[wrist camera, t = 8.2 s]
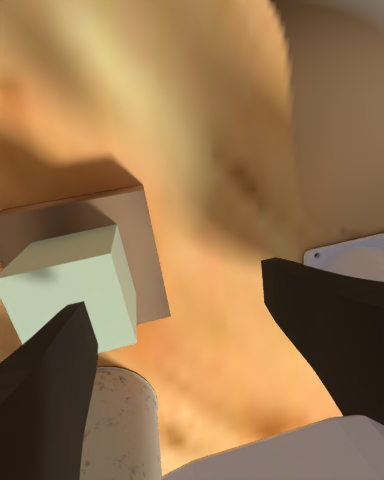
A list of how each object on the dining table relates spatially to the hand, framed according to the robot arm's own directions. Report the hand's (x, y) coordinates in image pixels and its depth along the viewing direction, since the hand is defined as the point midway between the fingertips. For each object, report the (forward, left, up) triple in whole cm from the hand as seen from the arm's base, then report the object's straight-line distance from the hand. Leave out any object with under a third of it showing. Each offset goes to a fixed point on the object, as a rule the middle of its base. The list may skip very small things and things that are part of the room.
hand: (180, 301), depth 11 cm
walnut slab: (+5, +1, -10) cm, 11 cm away
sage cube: (+5, +1, -7) cm, 9 cm away
